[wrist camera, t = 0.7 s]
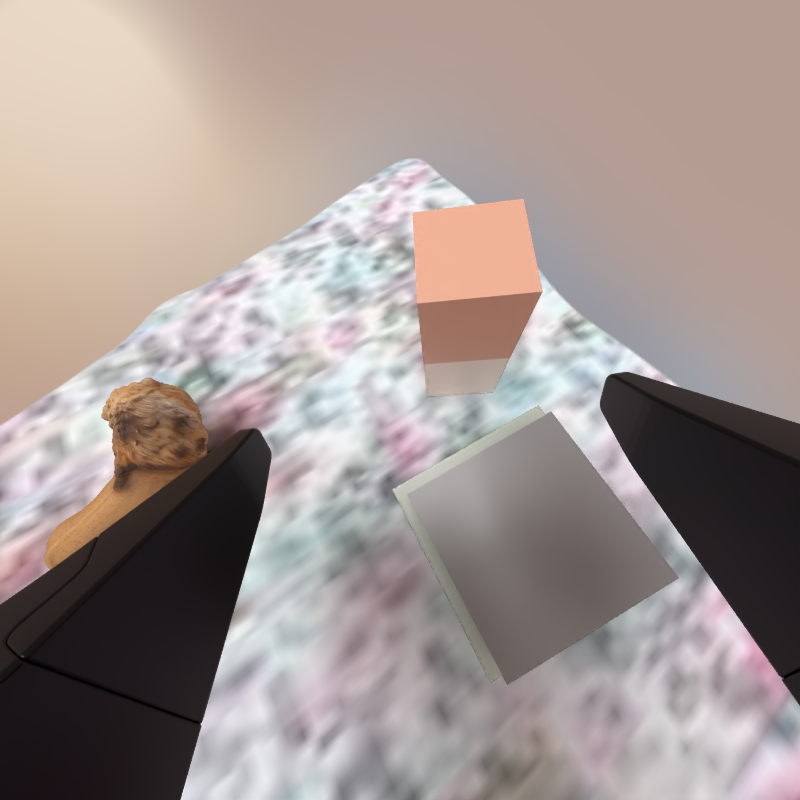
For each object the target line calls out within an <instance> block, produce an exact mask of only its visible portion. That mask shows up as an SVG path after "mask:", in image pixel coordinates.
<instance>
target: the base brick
mask: <svg viewBox="0 0 800 800" xmlns="http://www.w3.org/2000/svg"><path fill="white" fill-rule="evenodd" d="M392 490H393V492H394V494H395V496H396V498H397V500H398V502H399V504H400V506H401V508H402V510H403V512H404V514H405V516H406V517H407V519H408V521H409V523H410V525H411V527H412V529H413V531H414V533H415V535H416V537H417V539H418V541H419V543H420V545H421V547H422V549H423V551H424V553H425V555H426V557H427V559H428V561H429V563H430V565H431V566H432V568H433V570H434V572H435V574H436V576H437V578H438V580H439V582H440V584H441V586H442V588H443V590H444V592H445V594H446V596H447V598H448V600H449V602H450V604H451V606H452V608H453V610H454V612H455V614H456V615H457V617H458V619H459V621H460V623H461V625H462V627H463V629H464V631H465V633H466V635H467V637H468V639H469V641H470V643H471V645H472V647H473V649H474V651H475V653H476V655H477V657H478V659H479V661H480V663H481V664H482V666H483V668H484V670H485V672H486V674H487V676H488V678H489V680H490V682H492V681H494V680H495V679H497V678H499V677H500V676H503V678H504V680H505V682H506V684H507V685H508V684H510V683H511V682H513V681H514V680H516V679H518V678H519V677H521V676H522V675H524V674H526V673H527V672H529V671H530V670H532V669H534V668H535V667H537V666H538V665H540V664H542V663H543V662H545V661H546V660H548V659H550V658H551V657H553V656H554V655H556V654H558V653H559V652H561V651H562V650H564V649H566V648H567V647H569V646H570V645H572V644H574V643H575V642H577V641H578V640H580V639H582V638H583V637H585V636H587V635H588V634H590V633H591V632H593V631H595V630H596V629H598V628H599V627H601V626H603V625H604V624H606V623H607V622H609V621H611V620H612V619H614V618H615V617H617V616H619V615H620V614H622V613H623V612H625V611H627V610H628V609H630V608H631V607H633V606H635V605H636V604H638V603H639V602H641V601H643V600H644V599H646V598H647V597H649V596H651V595H652V594H654V593H655V592H657V591H659V590H660V589H662V588H663V587H665V586H667V585H668V584H670V583H671V582H673V581H675V580H676V579H678V578H679V577H678V576H677V575H676V574H675V572H674V571H673V570H672V568H671V567H670V566H669V564H668V563H667V562H666V561H665V559H664V558H663V557H662V555H661V554H660V553H659V551H658V550H657V549H656V547H655V546H654V545H653V544H652V542H651V541H650V540H649V538H648V537H647V536H646V534H645V533H644V532H643V531H642V529H641V528H640V527H639V525H638V524H637V523H636V521H635V520H634V519H633V518H632V516H631V515H630V514H629V512H628V511H627V510H626V508H625V507H624V506H623V505H622V503H621V502H620V501H619V499H618V498H617V497H616V495H615V494H614V493H613V491H612V490H611V489H610V488H609V486H608V485H607V484H606V482H605V481H604V480H603V478H602V477H601V476H600V475H599V473H598V472H597V471H596V469H595V468H594V467H593V465H592V464H591V463H590V462H589V460H588V459H587V458H586V456H585V455H584V454H583V452H582V451H581V450H580V448H579V447H578V446H577V445H576V443H575V442H574V441H573V439H572V438H571V437H570V435H569V434H568V433H567V432H566V430H565V429H564V428H563V426H562V425H561V424H560V422H559V421H558V420H557V419H556V417H555V416H554V415H553V413H552V412H549V413H548V414H546V415H545V413H544V412H543V411H542V409H541V408H540V407H539V406H537V407H535V408H533V409H532V410H530V411H528V412H526V413H525V414H523V415H521V416H519V417H518V418H516V419H514V420H512V421H511V422H509V423H507V424H505V425H504V426H502V427H500V428H498V429H497V430H495V431H493V432H491V433H490V434H488V435H486V436H485V437H483V438H481V439H479V440H478V441H476V442H474V443H472V444H471V445H469V446H467V447H465V448H464V449H462V450H460V451H458V452H457V453H455V454H453V455H451V456H450V457H448V458H446V459H444V460H443V461H441V462H439V463H437V464H436V465H434V466H432V467H430V468H429V469H427V470H425V471H423V472H422V473H420V474H418V475H416V476H415V477H413V478H411V479H409V480H408V481H406V482H404V483H402V484H401V485H399V486H397V487H396V488H394V489H392Z"/></svg>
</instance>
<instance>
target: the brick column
mask: <svg viewBox="0 0 800 800" xmlns="http://www.w3.org/2000/svg"><path fill="white" fill-rule="evenodd" d="M413 230H414V249H415V268H416V288H417V305H418V314H419V324H420V333H421V342H422V351H423V361H424V370H425V379H426V388H427V397H430V396H445V395H461V394H477V393H493V391H494V389H495V387H496V385H497V383H498V381H499V379H500V377H501V375H502V373H503V371H504V369H505V367H506V365H507V363H508V361H509V359H510V357H511V354H512V352H513V350H514V348H515V346H516V344H517V342H518V340H519V338H520V336H521V334H522V332H523V330H524V328H525V326H526V324H527V322H528V320H529V318H530V316H531V314H532V312H533V310H534V308H535V306H536V304H537V302H538V300H539V298H540V296H541V294H542V292H543V291H542V286H541V282H540V277H539V272H538V267H537V262H536V257H535V253H534V248H533V243H532V238H531V233H530V229H529V224H528V219H527V214H526V209H525V204H524V200H523V199H517V200H509V201H501V202H494V203H485V204H478V205H470V206H462V207H454V208H446V209H438V210H430V211H422V212H414V213H413Z"/></svg>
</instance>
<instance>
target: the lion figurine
mask: <svg viewBox="0 0 800 800" xmlns="http://www.w3.org/2000/svg"><path fill="white" fill-rule="evenodd" d="M101 418H103V419H104V420H107V421H109V427H110V428H112V429H113V439H112V443H113V446H112V449H113V452H114V455H115V461H114V463H115V471H114V473H115V475H114V477H113V478H112V479H111V481H110V482H109V483H108V484H107V485H106V486H105V487H104V488H103V490H102V491H101V492H100V493H99V495H98V496H97V497H96V498H95V499H94V500H93V501H92V502H91V503H90V504H89V505H87V506H86V507H85V508H84V509H83V510H81V511H80V512H78V513H76V514H75V515H73V516H71V517H70V518H68V519H66V520H65V521H63V522H62V523H61V524H60V525H59V526H58V527H56V529H55V530H54V531H53V532H52V534H51V536H50V538H49V540H48V542H47V552H46V554H45V558H44V559H45V564H46V565H47V567H48V568H49V569H52V568H53V567H55V566H56V565H58V564H59V563H60V562H62V561H63V560H65V559H66V558H67V557H69V556H70V555H71V554H73V553H74V552H76V551H77V550H78V549H80V548H81V547H82V546H84V545H85V544H86V543H88V542H89V541H90V540H92V539H93V538H95V537H99V535H100V533H101V532H103V531H104V530H106V529H107V528H108V527H110V526H111V525H112V524H114V523H115V522H116V521H118V520H119V519H120V518H122V517H123V516H125V515H126V514H127V513H129V512H130V511H131V510H133V509H134V508H135V507H137V506H138V505H139V504H141V503H142V502H143V501H145V500H146V499H148V498H149V497H150V496H152V495H153V494H154V493H156V492H157V491H158V490H160V489H161V488H162V487H164V486H165V485H166V484H168V483H169V482H171V481H172V480H173V479H175V478H176V477H177V476H179V475H180V474H181V473H183V472H184V471H185V470H187V469H188V468H190V467H191V466H192V465H194V464H195V463H196V462H198V461H199V460H200V459H202V458H203V457H204V456H206V455H207V454H208V452H207V447H206V443H207V442H208V433H209V431H208V430H207V428H206V427H205V426H204V425H203V424H202V418H201V414H200V410H199V408H198V406H197V404H196V403H195V402H194V401H193V400H192V398H191V397H190V396H189V394H188V393H187V392H185V391H184V390H183V389H182V388H180V387H176V386H173V385H168V384H164V383H162V382H161V383H159V382H158V381H155V380H154V379H152V378H144V379H143V380H142V381H141V382H139V383H135V382H132V383H131V384H129V385H128V386H123V387H120V388H119V389H115V390H113V392H112V393H111V395H110V398H109V399H108V400H107V401H106V405H105V406H104V407H103V413H102V414H101Z"/></svg>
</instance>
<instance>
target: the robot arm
mask: <svg viewBox="0 0 800 800" xmlns="http://www.w3.org/2000/svg"><path fill="white" fill-rule="evenodd" d="M600 408H601V411H602V413H603V415H604V417H605V418H606V420H607V422H608V424H609V426H610V428H611V429H612V431H613V433H614V435H615V437H616V439H617V440H618V442H619V444H620V446H621V448H622V450H623V451H624V453H625V455H626V457H627V458H628V460H629V462H630V463H631V465H632V466H633V468H634V469H635V471H636V472H637V474H638V475H639V476H640V478H641V479H642V481H643V482H644V484H645V485H646V486H647V488H648V489H649V491H650V492H651V494H652V495H653V496H654V498H655V499H656V501H657V502H658V504H659V505H660V506H661V508H662V509H663V511H664V512H665V514H666V515H667V516H668V518H669V519H670V521H671V522H672V524H673V525H674V526H675V528H676V529H677V531H678V532H679V534H680V535H681V536H682V538H683V539H684V541H685V542H686V544H687V545H688V546H689V548H690V549H691V551H692V552H693V553H694V555H695V556H696V558H697V559H698V561H699V562H700V563H701V565H702V566H703V568H704V569H705V571H706V572H707V573H708V575H709V576H710V578H711V579H712V581H713V582H714V583H715V585H716V586H717V588H718V589H719V591H720V592H721V593H722V595H723V596H724V598H725V599H726V601H727V602H728V603H729V605H730V606H731V608H732V609H733V611H734V612H735V613H736V615H737V616H738V618H739V619H740V621H741V622H742V623H743V625H744V626H745V628H746V629H747V631H748V632H749V633H750V635H751V636H752V638H753V639H754V641H755V642H756V643H757V645H758V646H759V648H760V649H761V651H762V652H763V653H764V655H765V656H766V658H767V659H768V661H769V662H770V663H771V665H772V666H773V668H774V669H775V671H776V672H777V673H778V675H779V676H780V677H782V678H783V679H782V681H783V682H784V684H785V685H786V687H787V688H788V690H789V691H790V692H791V694H792V695H793V697H794V698H795V700H796V701H797V702H798V704H799V705H800V424H799V423H795V422H792V421H789V420H785V419H782V418H779V417H776V416H772V415H769V414H766V413H762V412H759V411H756V410H752V409H749V408H746V407H743V406H739V405H736V404H733V403H729V402H726V401H723V400H719V399H716V398H713V397H709V396H706V395H703V394H700V393H696V392H693V391H690V390H686V389H683V388H680V387H676V386H673V385H670V384H667V383H663V382H660V381H657V380H653V379H650V378H647V377H643V376H640V375H637V374H634V373H630V372H622V373H615V374H611V375H609V376H608V377H607V378H606V381H605V384H604V388H603V392H602V396H601V399H600ZM270 464H271V450H270V448H269V446H268V444H267V443H266V441H265V439H264V437H263V436H262V434H261V432H260V431H259V430H258V429H257V428H249V429H243V430H240V431H238V432H237V433H236V434H234V435H233V436H231V437H230V438H229V439H227V440H226V441H225V442H223V443H222V444H221V445H219V446H218V447H217V448H215V449H214V450H213V451H211V452H210V453H208V454H207V455H206V456H204V457H203V458H202V459H200V460H199V461H198V462H196V463H195V464H194V465H192V466H191V467H190V468H188V469H187V470H185V471H184V472H183V473H181V474H180V475H179V476H177V477H176V478H175V479H173V480H172V481H171V482H169V483H168V484H166V485H165V486H164V487H162V488H161V489H160V490H158V491H157V492H156V493H154V494H153V495H152V496H150V497H149V498H148V499H146V500H145V501H143V502H142V503H141V504H139V505H138V506H137V507H135V508H134V509H133V510H131V511H130V512H129V513H127V514H126V515H125V516H123V517H122V518H120V519H119V520H118V521H116V522H115V523H114V524H112V525H111V526H110V527H108V528H107V529H106V530H104V531H103V532H101V533H100V535H99V537H95V538H93V539H92V540H90V541H89V542H88V543H86V544H85V545H84V546H82V547H81V548H80V549H78V550H77V551H76V552H74V553H73V554H71V555H70V556H69V557H67V558H66V559H65V560H63V561H62V562H60V563H59V564H58V565H56V566H55V567H53V568H52V569H51V570H49V571H48V572H47V573H45V574H44V575H42V576H41V577H39V578H38V579H37V580H35V581H34V582H32V583H31V584H29V585H28V586H27V587H25V588H24V589H22V590H21V591H19V592H18V593H16V594H15V595H14V596H12V597H11V598H9V599H8V600H6V601H5V602H3V603H2V604H0V800H180V799H181V796H182V792H183V789H184V785H185V782H186V778H187V775H188V771H189V768H190V764H191V761H192V757H193V754H194V750H195V747H196V743H197V740H198V736H199V733H200V729H201V723H202V721H203V718H204V714H205V711H206V707H207V704H208V700H209V697H210V693H211V690H212V686H213V682H214V679H215V675H216V672H217V668H218V665H219V661H220V658H221V654H222V651H223V647H224V644H225V640H226V637H227V633H228V630H229V626H230V623H231V619H232V616H233V612H234V609H235V605H236V602H237V598H238V595H239V591H240V587H241V584H242V580H243V577H244V573H245V570H246V566H247V563H248V559H249V556H250V552H251V549H252V545H253V542H254V538H255V535H256V531H257V528H258V524H259V521H260V517H261V513H262V509H263V504H264V499H265V493H266V487H267V481H268V476H269V470H270Z"/></svg>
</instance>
